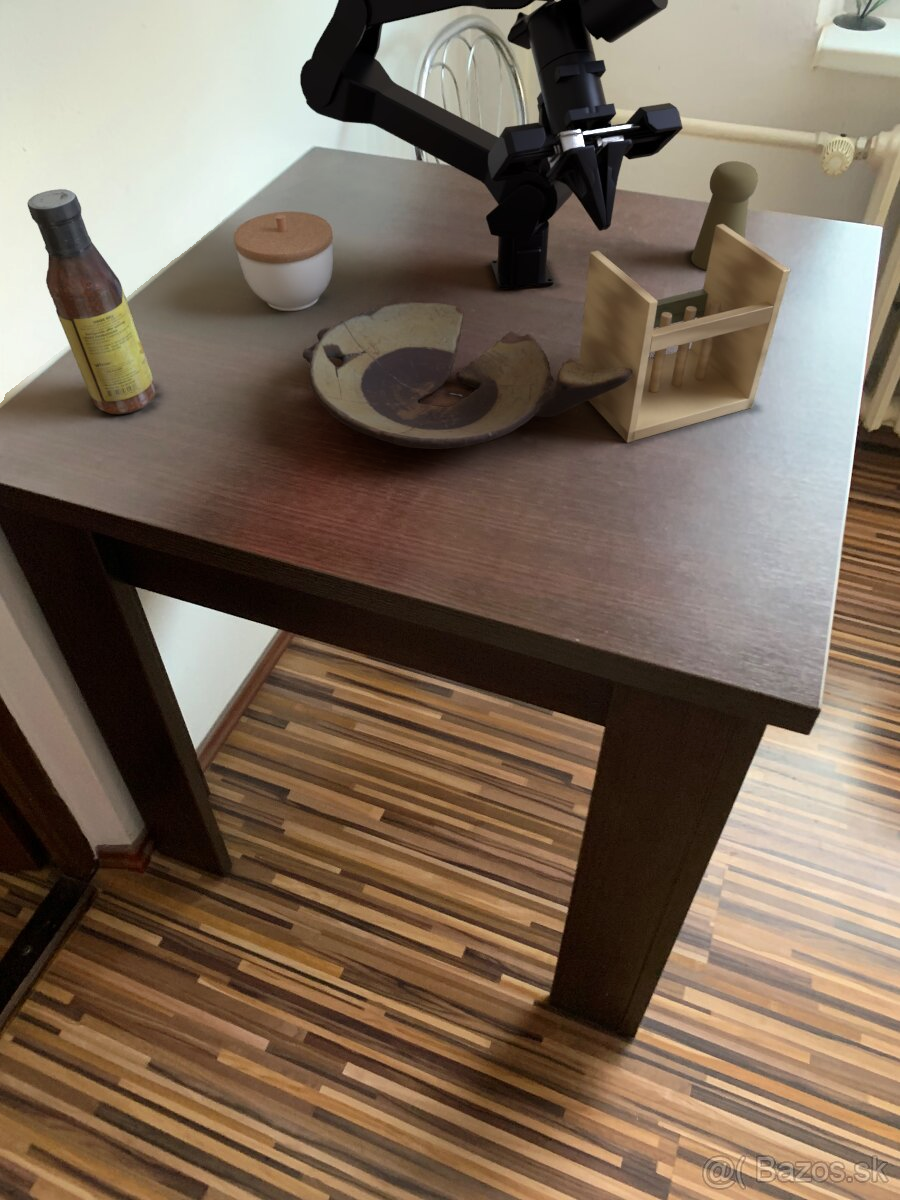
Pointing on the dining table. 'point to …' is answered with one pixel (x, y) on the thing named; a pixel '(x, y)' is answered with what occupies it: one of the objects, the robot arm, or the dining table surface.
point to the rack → (682, 339)
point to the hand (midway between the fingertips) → (604, 228)
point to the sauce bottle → (92, 307)
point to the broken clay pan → (440, 378)
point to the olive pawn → (725, 205)
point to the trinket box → (286, 258)
